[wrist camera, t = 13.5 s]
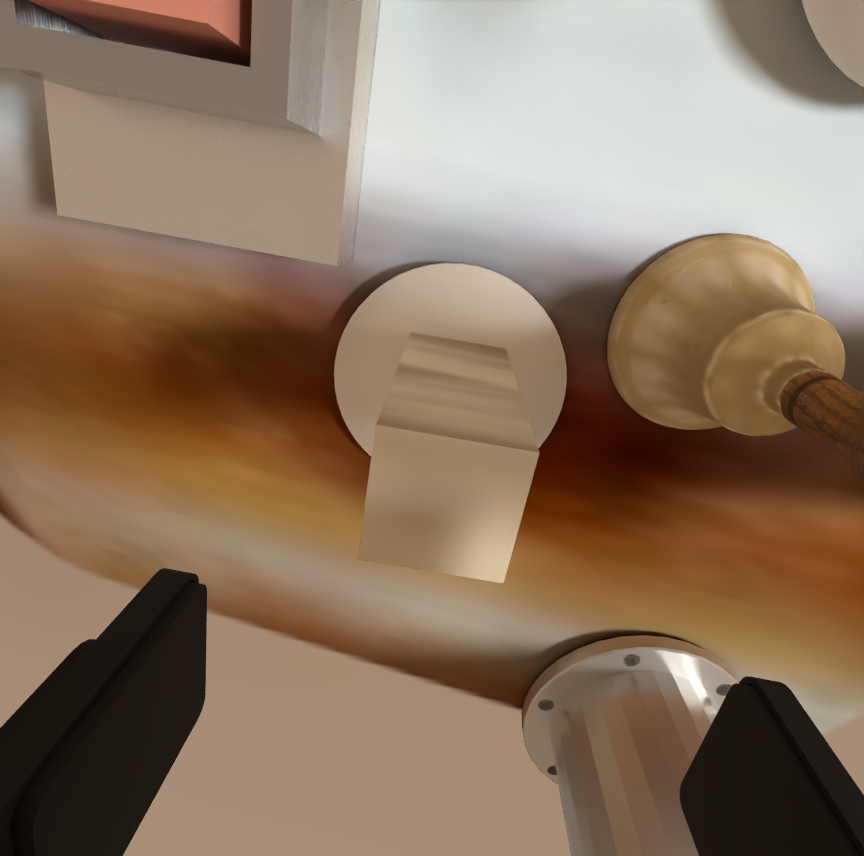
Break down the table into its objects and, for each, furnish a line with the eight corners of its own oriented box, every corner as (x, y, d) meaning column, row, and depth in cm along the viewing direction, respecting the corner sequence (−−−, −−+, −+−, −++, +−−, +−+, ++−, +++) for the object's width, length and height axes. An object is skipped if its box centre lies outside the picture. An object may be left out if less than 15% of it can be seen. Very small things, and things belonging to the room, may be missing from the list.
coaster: (572, 463, 25) (575, 471, 24) (366, 491, 26) (363, 499, 25) (552, 241, 21) (555, 242, 20) (312, 285, 22) (307, 288, 21)
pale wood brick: (486, 434, 23) (503, 583, 14) (397, 419, 23) (357, 559, 14) (505, 348, 22) (539, 452, 13) (411, 331, 22) (376, 424, 13)
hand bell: (752, 446, 24) (1217, 828, 9) (578, 404, 24) (776, 733, 9) (851, 262, 21) (1808, 401, 6) (651, 210, 20) (1155, 221, 6)
